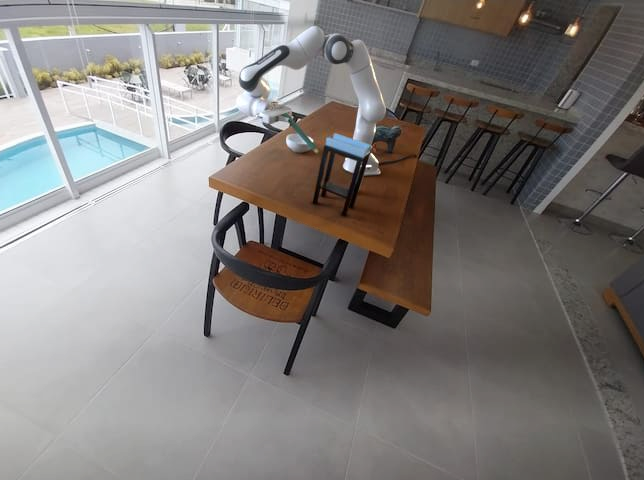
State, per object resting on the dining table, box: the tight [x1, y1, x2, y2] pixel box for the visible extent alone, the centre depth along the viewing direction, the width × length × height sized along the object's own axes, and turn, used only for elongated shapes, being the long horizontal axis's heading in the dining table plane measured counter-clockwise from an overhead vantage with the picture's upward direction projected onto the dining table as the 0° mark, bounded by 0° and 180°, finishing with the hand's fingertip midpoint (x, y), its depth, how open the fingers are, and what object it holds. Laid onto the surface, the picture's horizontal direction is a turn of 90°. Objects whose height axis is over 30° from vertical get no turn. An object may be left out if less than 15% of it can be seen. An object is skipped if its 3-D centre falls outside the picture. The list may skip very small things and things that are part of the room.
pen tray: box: [325, 132, 373, 158], centre depth 125 cm, size 17×8×3 cm, turn 60°
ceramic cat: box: [372, 119, 402, 154], centre depth 201 cm, size 20×6×20 cm, turn 84°
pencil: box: [283, 113, 320, 154], centre depth 144 cm, size 24×2×1 cm, turn 60°
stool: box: [312, 144, 371, 217], centre depth 135 cm, size 17×11×27 cm, turn 60°
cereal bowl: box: [285, 133, 314, 154], centre depth 186 cm, size 17×17×7 cm
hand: (290, 119), depth 143 cm, fingers closed on pencil, 2 cm apart
